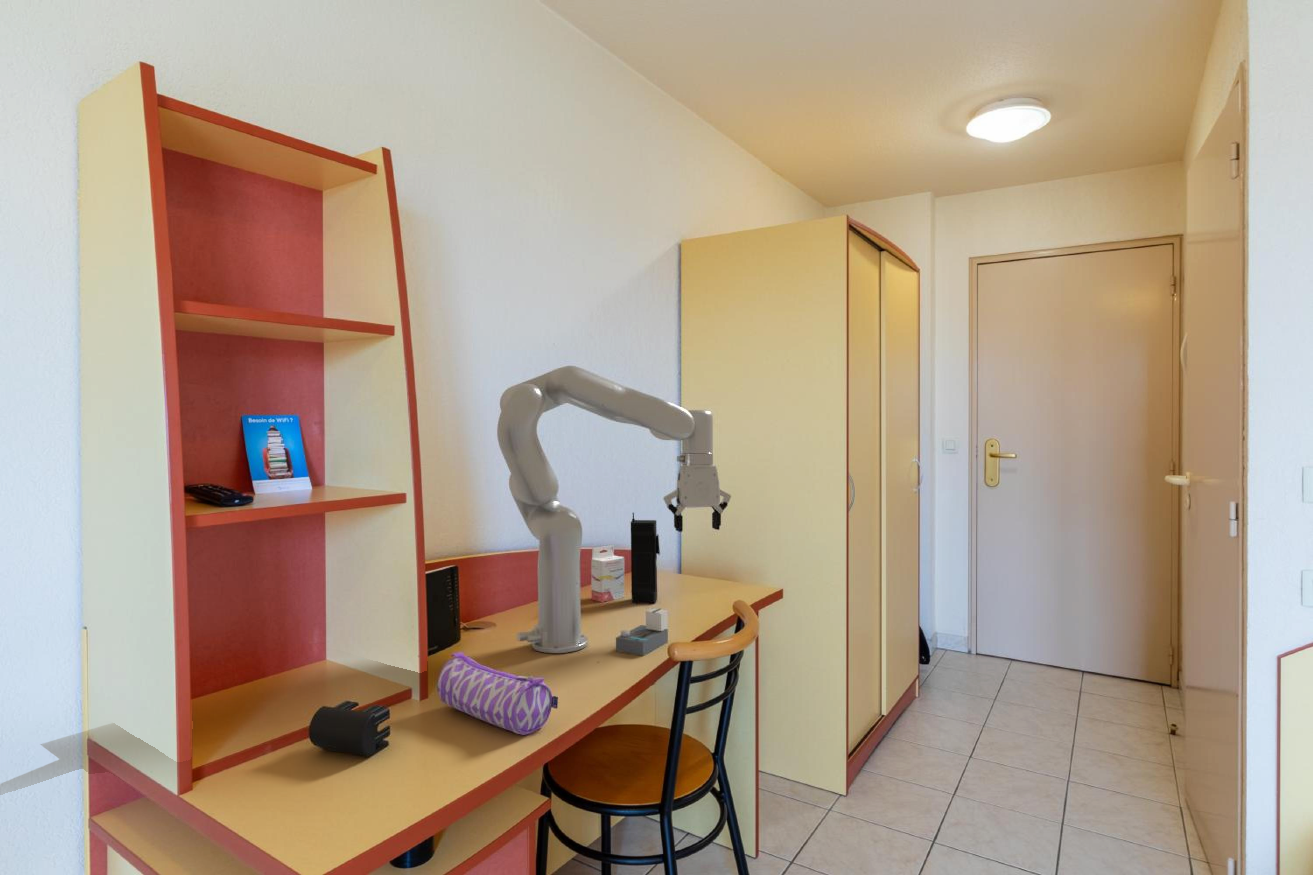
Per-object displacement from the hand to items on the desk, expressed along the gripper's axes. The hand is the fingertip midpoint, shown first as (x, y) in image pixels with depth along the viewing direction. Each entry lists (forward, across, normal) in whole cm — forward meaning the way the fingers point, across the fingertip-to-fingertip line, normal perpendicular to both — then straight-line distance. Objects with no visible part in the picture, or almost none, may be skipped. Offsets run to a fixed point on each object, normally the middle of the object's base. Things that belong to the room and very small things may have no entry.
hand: (697, 529), depth 178 cm
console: (+24, -17, -10) cm, 31 cm away
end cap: (+25, -75, -44) cm, 91 cm away
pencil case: (+25, -53, -39) cm, 70 cm away
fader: (+21, -13, -9) cm, 26 cm away
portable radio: (+24, -5, +28) cm, 37 cm away
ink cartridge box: (+24, -14, +34) cm, 44 cm away
